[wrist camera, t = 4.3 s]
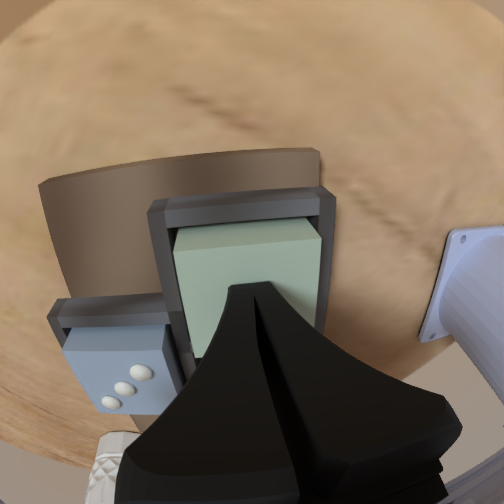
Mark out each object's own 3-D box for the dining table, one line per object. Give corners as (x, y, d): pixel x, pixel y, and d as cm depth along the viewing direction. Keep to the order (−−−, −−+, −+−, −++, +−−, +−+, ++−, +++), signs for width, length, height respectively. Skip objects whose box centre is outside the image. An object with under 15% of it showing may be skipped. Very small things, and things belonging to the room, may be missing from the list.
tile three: (167, 309, 13) (160, 353, 11) (185, 375, 15) (184, 417, 13) (78, 314, 13) (59, 354, 10) (108, 377, 15) (98, 415, 12)
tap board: (315, 147, 12) (337, 158, 9) (298, 408, 19) (305, 436, 17) (34, 182, 11) (5, 199, 8) (130, 420, 18) (127, 447, 16)
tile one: (300, 210, 12) (323, 241, 9) (297, 306, 14) (313, 348, 11) (180, 221, 11) (172, 255, 9) (196, 317, 13) (195, 361, 11)
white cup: (173, 471, 23) (175, 560, 14) (93, 452, 21) (82, 543, 12) (193, 439, 20) (199, 555, 11) (93, 415, 18) (73, 534, 9)
